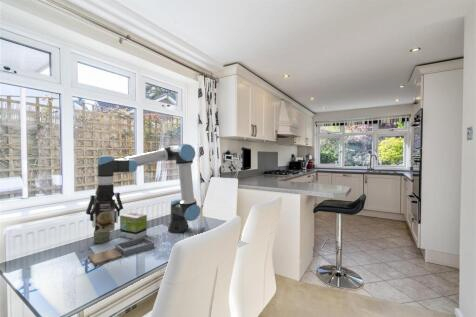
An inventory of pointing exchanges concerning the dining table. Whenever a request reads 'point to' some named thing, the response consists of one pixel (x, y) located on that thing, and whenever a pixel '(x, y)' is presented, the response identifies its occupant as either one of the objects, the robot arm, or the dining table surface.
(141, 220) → the tea box
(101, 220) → the coffee box
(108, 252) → the board
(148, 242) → the bin
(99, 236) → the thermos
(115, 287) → the dining table surface
